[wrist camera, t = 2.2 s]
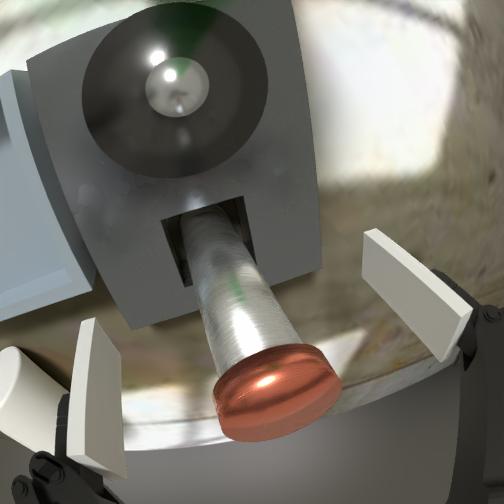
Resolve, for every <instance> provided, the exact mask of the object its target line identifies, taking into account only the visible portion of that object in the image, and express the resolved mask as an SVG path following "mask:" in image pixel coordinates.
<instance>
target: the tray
mask: <svg viewBox="0 0 504 504" xmlns="http://www.w3.org/2000/svg"><path fill="white" fill-rule="evenodd" d="M96 272H97V267H96V265H95V263H94V261H93V259H92V257H91V255H90V253H89V251H88V249H87V247H86V245H85V242H84V240H83V238H82V236H81V234H80V232H79V229H78V227H77V225H76V222H75V220H74V218H73V215H72V213H71V211H70V208H69V206H68V203H67V201H66V198H65V196H64V193H63V191H62V188H61V185H60V183H59V180H58V177H57V175H56V172H55V169H54V166H53V163H52V160H51V157H50V154H49V151H48V148H47V145H46V142H45V138H44V135H43V131H42V128H41V124H40V121H39V117H38V113H37V109H36V105H35V101H34V97H33V93H32V88H31V84H30V79H29V74H28V71H20V70H9V71H8V72H6V73H5V74H3V75H1V76H0V321H3V320H6V319H9V318H11V317H14V316H17V315H20V314H23V313H26V312H29V311H32V310H35V309H38V308H41V307H44V306H47V305H50V304H53V303H56V302H59V301H62V300H65V299H68V298H71V297H74V296H77V295H80V294H83V293H86V292H89V291H92V290H93V286H94V281H95V277H96Z"/></svg>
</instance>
